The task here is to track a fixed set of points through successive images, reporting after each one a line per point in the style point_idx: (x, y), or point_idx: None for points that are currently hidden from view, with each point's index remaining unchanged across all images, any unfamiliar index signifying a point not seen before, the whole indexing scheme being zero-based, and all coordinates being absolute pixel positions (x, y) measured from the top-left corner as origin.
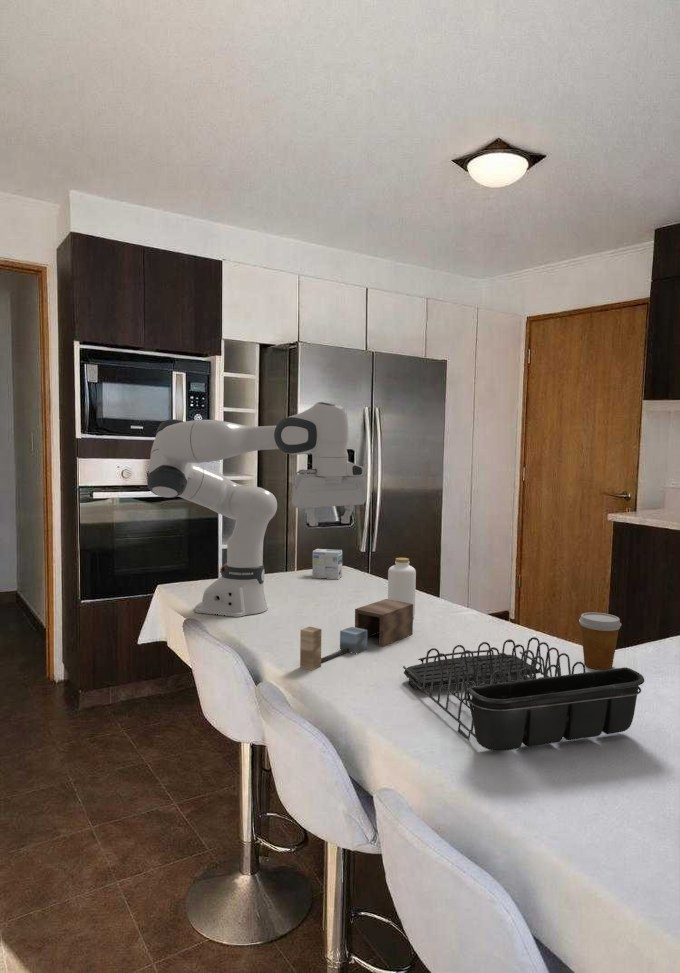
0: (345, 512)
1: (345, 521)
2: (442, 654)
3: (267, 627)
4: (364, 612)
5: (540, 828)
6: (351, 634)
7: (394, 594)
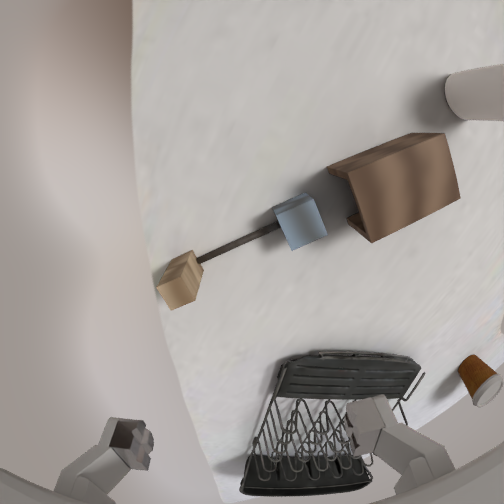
0: (399, 445)
1: (349, 433)
2: (286, 443)
3: (203, 22)
4: (355, 197)
5: (225, 484)
6: (287, 240)
7: (474, 99)
